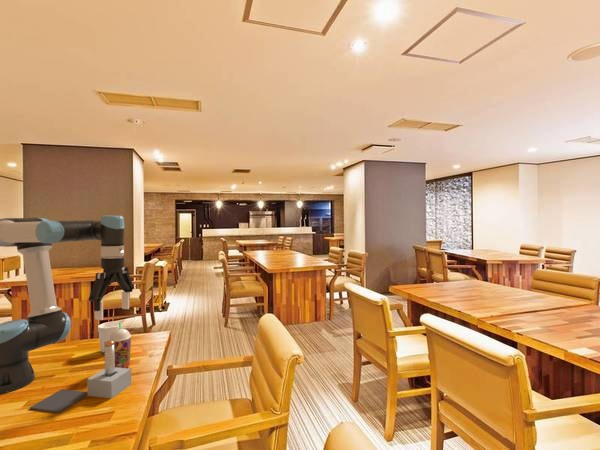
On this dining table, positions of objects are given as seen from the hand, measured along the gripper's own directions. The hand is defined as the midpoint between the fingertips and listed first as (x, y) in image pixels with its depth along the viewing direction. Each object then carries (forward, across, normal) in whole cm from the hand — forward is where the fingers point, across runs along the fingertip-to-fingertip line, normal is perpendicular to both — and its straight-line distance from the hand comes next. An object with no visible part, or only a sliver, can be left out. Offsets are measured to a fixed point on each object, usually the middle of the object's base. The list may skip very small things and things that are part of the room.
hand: (113, 313), depth 123 cm
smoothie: (+28, +14, +8) cm, 33 cm away
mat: (+28, -11, +11) cm, 32 cm away
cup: (+29, +30, +26) cm, 49 cm away
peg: (+28, -1, 0) cm, 28 cm away
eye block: (+28, -1, 0) cm, 28 cm away
